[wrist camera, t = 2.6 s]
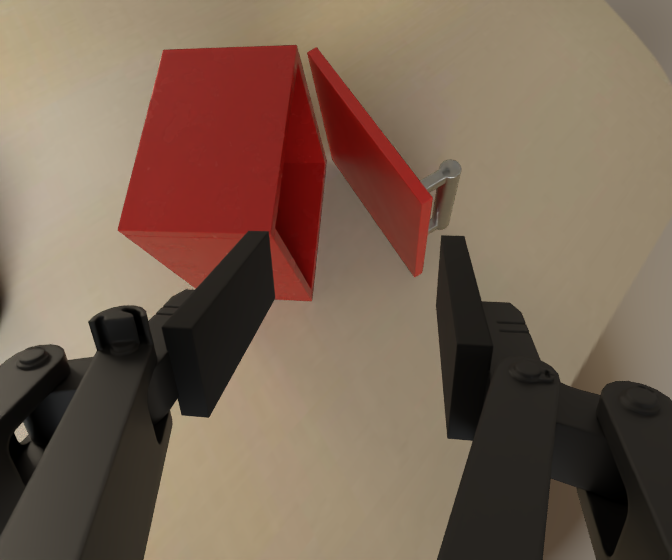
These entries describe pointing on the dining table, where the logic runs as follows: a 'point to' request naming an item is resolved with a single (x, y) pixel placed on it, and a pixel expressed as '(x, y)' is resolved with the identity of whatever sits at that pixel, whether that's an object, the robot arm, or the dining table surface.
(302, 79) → the cabinet
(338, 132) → the door
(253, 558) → the dining table surface
